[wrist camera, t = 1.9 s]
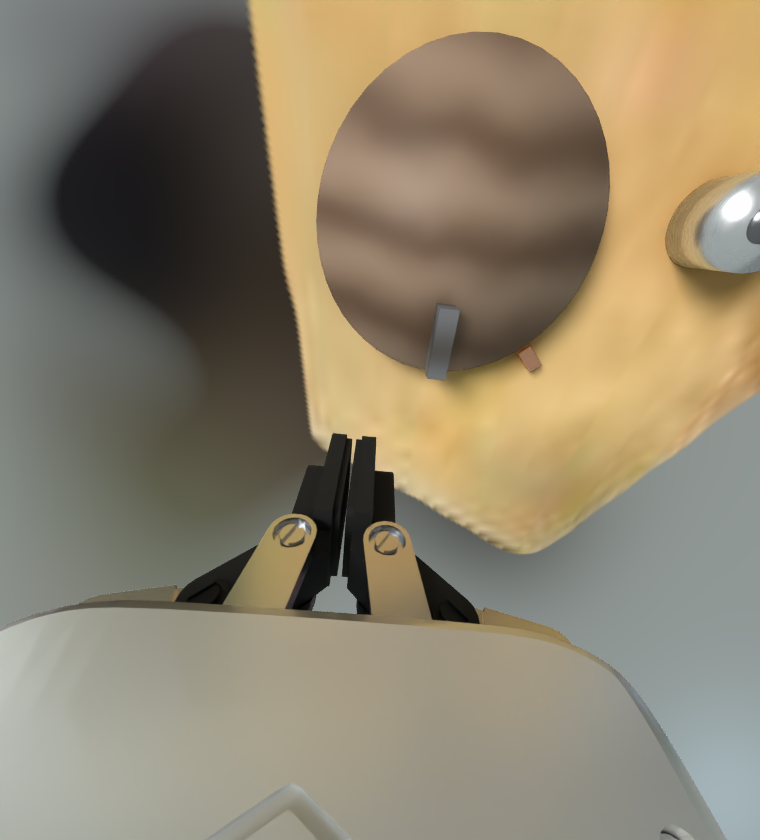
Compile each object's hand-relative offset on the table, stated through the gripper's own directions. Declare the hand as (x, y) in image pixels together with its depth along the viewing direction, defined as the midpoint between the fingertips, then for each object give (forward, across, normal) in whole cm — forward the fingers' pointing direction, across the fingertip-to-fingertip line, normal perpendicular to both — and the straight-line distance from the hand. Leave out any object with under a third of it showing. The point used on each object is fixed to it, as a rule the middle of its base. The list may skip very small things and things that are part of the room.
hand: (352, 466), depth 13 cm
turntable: (+22, -6, -8) cm, 24 cm away
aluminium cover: (+22, -27, -11) cm, 37 cm away
